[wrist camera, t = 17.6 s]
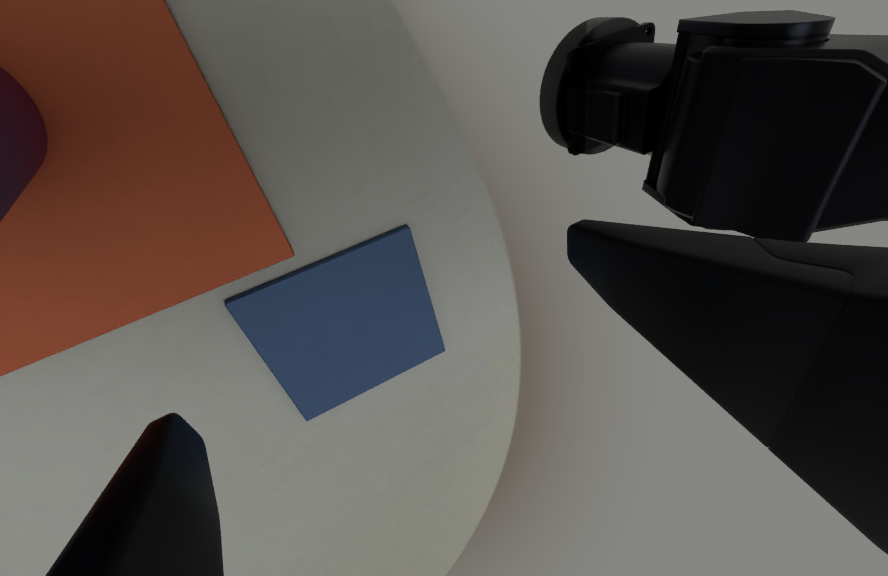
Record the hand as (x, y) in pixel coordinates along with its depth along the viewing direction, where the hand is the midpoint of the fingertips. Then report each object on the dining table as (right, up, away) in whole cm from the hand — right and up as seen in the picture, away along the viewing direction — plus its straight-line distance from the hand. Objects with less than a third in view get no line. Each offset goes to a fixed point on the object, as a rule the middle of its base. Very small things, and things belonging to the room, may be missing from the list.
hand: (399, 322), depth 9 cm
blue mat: (-5, -2, +16) cm, 16 cm away
